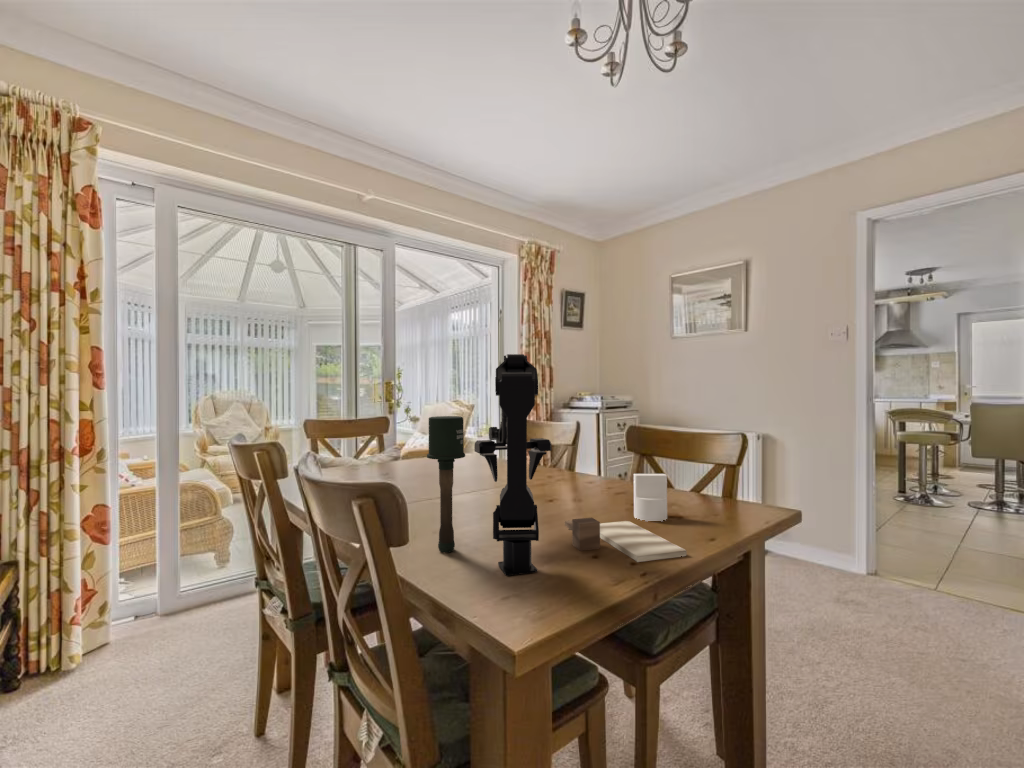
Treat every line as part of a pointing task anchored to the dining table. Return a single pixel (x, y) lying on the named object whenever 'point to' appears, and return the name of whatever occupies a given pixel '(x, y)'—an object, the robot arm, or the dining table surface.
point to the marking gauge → (584, 533)
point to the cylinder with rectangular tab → (650, 497)
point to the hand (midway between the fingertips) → (513, 480)
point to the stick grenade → (446, 468)
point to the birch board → (638, 542)
